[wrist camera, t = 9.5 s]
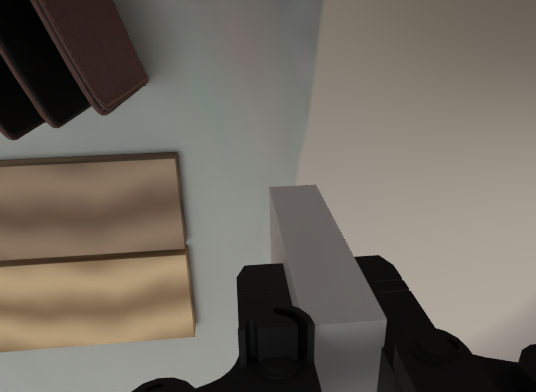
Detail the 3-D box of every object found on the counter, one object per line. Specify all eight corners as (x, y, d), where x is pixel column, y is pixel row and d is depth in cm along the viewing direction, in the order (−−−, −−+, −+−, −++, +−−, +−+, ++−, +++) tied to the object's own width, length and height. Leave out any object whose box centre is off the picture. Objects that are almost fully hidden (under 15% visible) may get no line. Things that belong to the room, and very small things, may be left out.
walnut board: (-97, 164, 38) (-113, 172, 36) (177, 151, 40) (174, 158, 38) (-63, 254, 42) (-76, 265, 40) (186, 238, 43) (184, 248, 42)
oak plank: (-61, 260, 42) (-74, 271, 40) (187, 245, 44) (185, 255, 42) (-31, 342, 46) (-42, 355, 44) (195, 324, 47) (194, 336, 46)
